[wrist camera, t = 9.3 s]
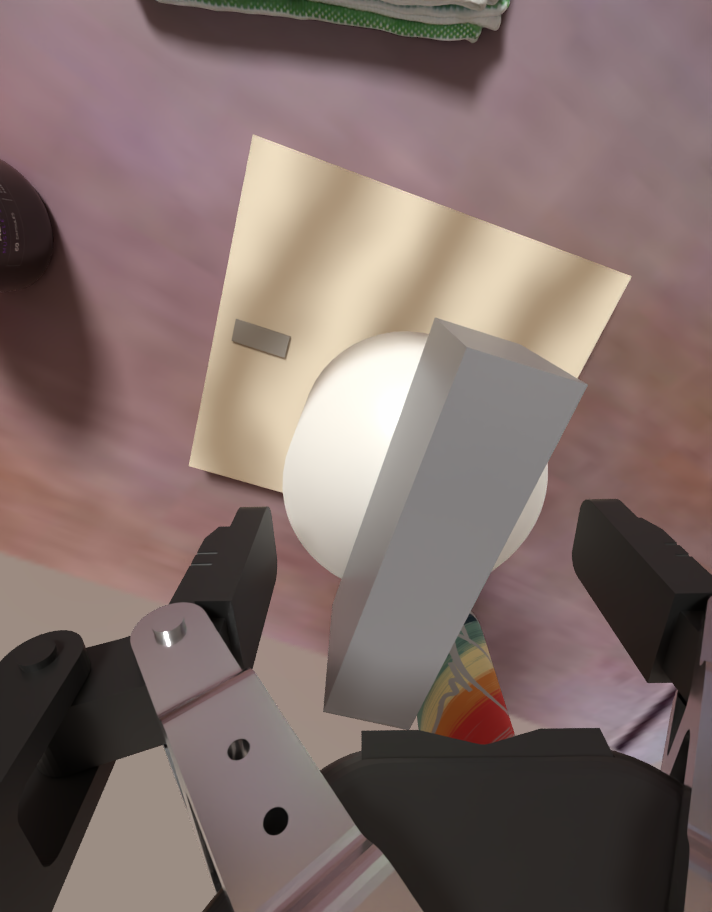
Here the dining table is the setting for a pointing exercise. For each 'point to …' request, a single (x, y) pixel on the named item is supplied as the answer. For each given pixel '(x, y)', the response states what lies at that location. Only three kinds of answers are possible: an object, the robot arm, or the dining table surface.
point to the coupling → (418, 497)
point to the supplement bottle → (22, 232)
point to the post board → (365, 296)
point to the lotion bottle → (467, 693)
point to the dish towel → (379, 14)
